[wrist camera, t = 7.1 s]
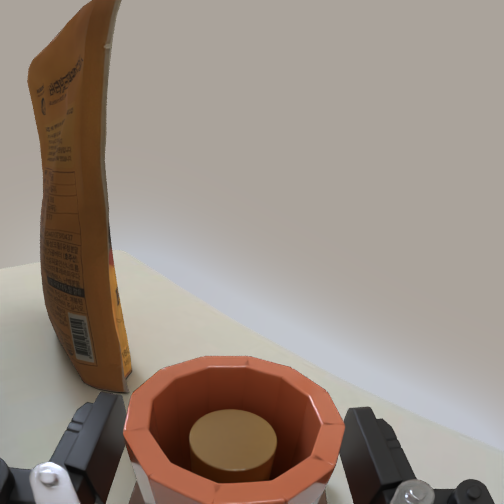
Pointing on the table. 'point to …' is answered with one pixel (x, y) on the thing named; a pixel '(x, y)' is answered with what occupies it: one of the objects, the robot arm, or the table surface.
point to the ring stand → (230, 449)
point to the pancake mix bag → (79, 196)
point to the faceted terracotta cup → (240, 398)
